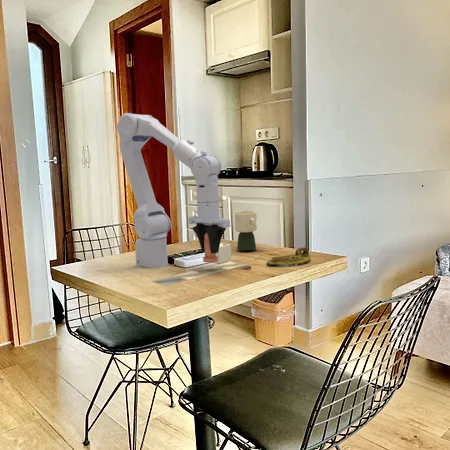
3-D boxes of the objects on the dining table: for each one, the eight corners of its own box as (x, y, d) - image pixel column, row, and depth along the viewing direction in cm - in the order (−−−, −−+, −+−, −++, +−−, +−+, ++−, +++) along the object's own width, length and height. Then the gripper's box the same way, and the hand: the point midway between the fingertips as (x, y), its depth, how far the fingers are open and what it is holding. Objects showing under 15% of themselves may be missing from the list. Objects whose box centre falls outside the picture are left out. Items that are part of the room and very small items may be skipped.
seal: (277, 274, 131) (319, 265, 138) (278, 258, 130) (320, 250, 137) (258, 264, 139) (298, 257, 146) (258, 249, 138) (299, 242, 145)
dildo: (200, 261, 128) (198, 231, 127) (211, 258, 131) (209, 229, 130) (210, 263, 126) (208, 233, 124) (221, 260, 128) (219, 231, 127)
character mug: (264, 252, 155) (263, 212, 153) (245, 254, 152) (244, 214, 150) (247, 247, 165) (246, 209, 163) (229, 249, 161) (228, 211, 160)
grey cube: (208, 261, 145) (207, 245, 144) (220, 258, 148) (219, 242, 147) (219, 263, 141) (218, 246, 140) (231, 260, 145) (230, 244, 144)
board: (146, 284, 121) (146, 280, 120) (226, 264, 140) (226, 260, 140) (170, 290, 113) (170, 286, 113) (251, 268, 132) (251, 265, 132)
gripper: (178, 202, 129) (181, 251, 131) (215, 204, 118) (217, 257, 120) (198, 199, 133) (201, 247, 135) (235, 201, 123) (237, 253, 125)
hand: (210, 252), depth 128 cm, fingers closed on dildo, 3 cm apart
